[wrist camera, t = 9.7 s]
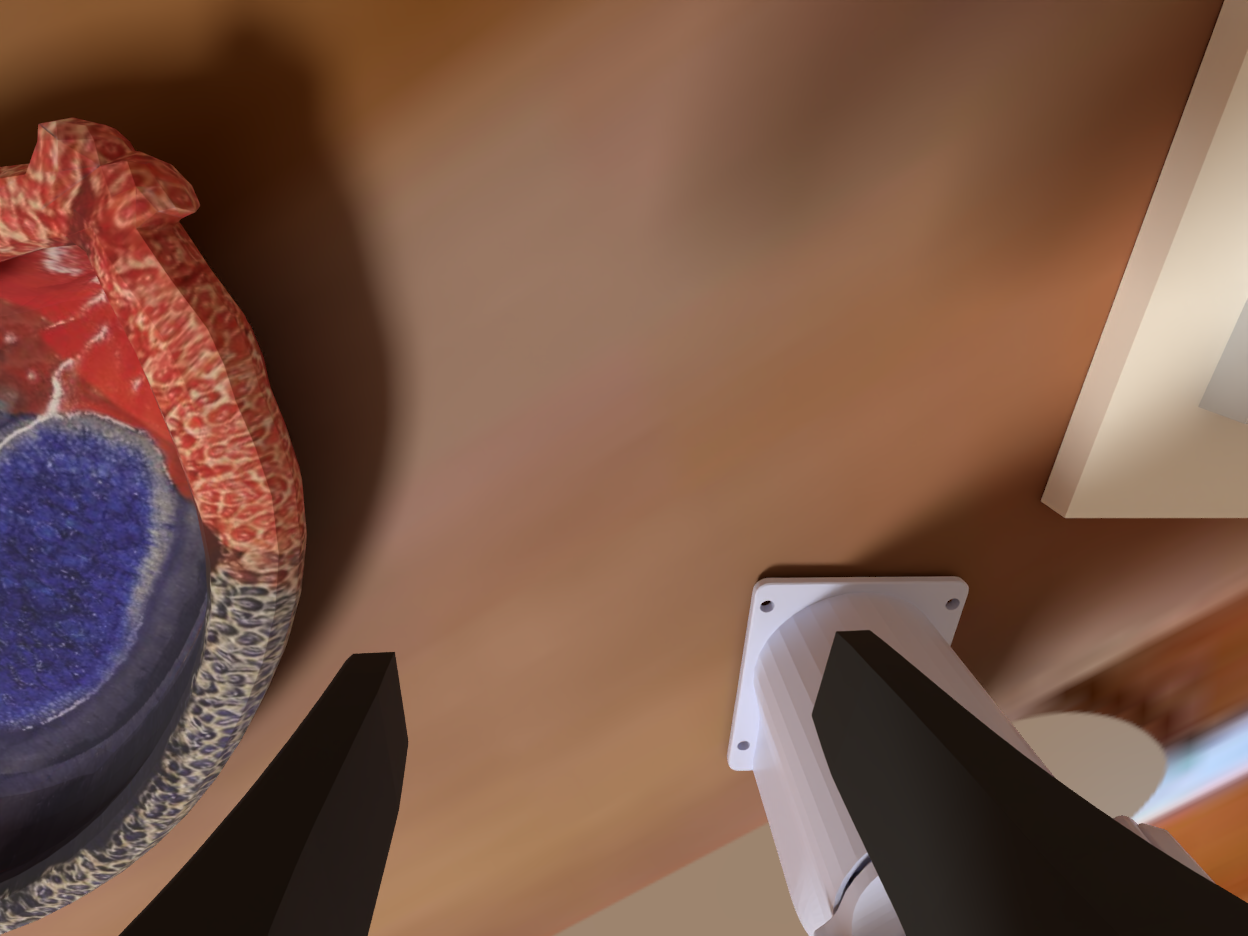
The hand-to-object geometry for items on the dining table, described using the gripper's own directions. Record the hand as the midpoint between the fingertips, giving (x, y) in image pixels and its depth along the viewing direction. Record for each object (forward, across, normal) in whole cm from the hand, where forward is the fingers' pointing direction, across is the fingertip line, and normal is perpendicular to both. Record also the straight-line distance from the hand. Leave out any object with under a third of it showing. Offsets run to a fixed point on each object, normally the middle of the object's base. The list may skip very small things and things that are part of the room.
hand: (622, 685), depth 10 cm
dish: (+12, +17, +6) cm, 22 cm away
